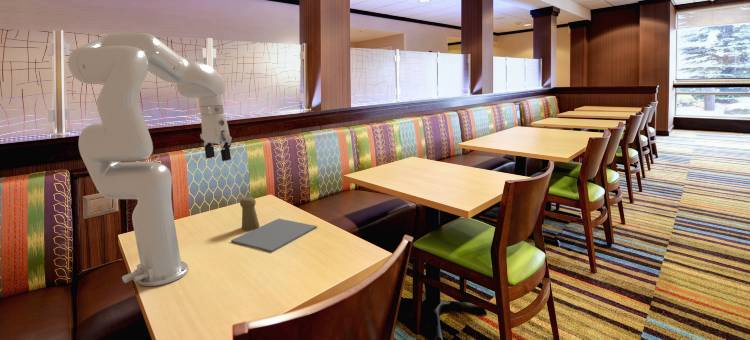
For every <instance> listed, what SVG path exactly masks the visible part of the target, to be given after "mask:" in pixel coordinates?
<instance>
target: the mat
mask: <svg viewBox="0 0 750 340" xmlns="http://www.w3.org/2000/svg"><path fill="white" fill-rule="evenodd" d="M317 228H318V225H314V224H308V223H303V222H299V221H293V220H289V219H284V218H277V219H275V220H272V221H270V222H268V223H266V224H264V225H261V226H259V228H257V229H255V230H251V231H247V232H246V233H244V234H242V235H239V236H237V237H235V238H233V239H231V240H230V242H231V243H234V244H238V245H240V246H241V245H242V246H244V247H245V246H246V247H249V248H254V249H257V250H261V251H265V252H269V253H274V252H275V251H277V250H279V249H281V248H283V247H285V246H286V245H288V244H291V243H292V242H293V241H295V240H297V239H299V238H301V237H303V236H305V235H306V234H308V233H310V232H312V231H314V230H316V229H317Z"/></svg>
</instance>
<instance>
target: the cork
mask: <svg viewBox="0 0 750 340" xmlns="http://www.w3.org/2000/svg"><path fill="white" fill-rule="evenodd" d="M239 201H240V202H239V204H240V207H241V229H242V231H247V232H250V231H252V230H255V229H257V228H259V227H260V222H259V219H258V215H257V212H256V208H255V207H256V203H257V202H256V199H255V198H254V197H252V196H246V197H243V198H241V199H240V200H239Z"/></svg>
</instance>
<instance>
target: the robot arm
mask: <svg viewBox="0 0 750 340" xmlns="http://www.w3.org/2000/svg"><path fill="white" fill-rule="evenodd" d="M67 62H68V69H69V71H70V73H71V74H72V76H73V77H74V78H75V79H76V80H78V81H79V82H80V83H82V84H83V83H84V84H87V85H103V86H102V88H101V90H100V92H99V94H98V97H97V102H96V109H97V112H98V115H99V118H100V120H101V123H93V124H90V125H88V126H86V127H84V128H83V129H82V131H81V132H80V133H79V136H78V150H79V154H80V157H81V158H82V161H83V163H84V165H85V167H86V169H87V172H88V174H89V176H90V178H91V180H92V182H93V184H94V186H95V188H96V190H97V191H98V192H99V194H100V195H101V196H103V197H104V198H106V199H111V200H137V204H136V205H135V207H134V209H133V211H132V215H131V220H132V226H133V231H134V236H135V241H136V247H137V252H138V253H137V254H138V257H139V263H138V264H137V265H136V269H134V271H132V272H131V273H130V272H128V273H127V274H125V275H123V276H121V279H122V282H123V283H124V284H126V283H129V282H131V281H133V282H134V283H137V284H138V285H141V286H144V287H154V286H155V287H156V286H161V285H165V284H170V283H171V282H172V283H173V282H175V281H177V280H179V279H181V278H182V277H184V276H185V275H186V274H187V273H188V271H189V264H188V263H186V262H185V261H182V260H181V254H180V248H179V241H178V235H177V229H176V224H175V223H176V222H175V218H174V211H173V203H172V187H173V186H172V184H173V183H172V181H173V179H172V173H171V170H170V169H169V167H167V166H166V165H165V164H162V163H160V162H155V161H142V160H145V159H148V158H149V157H150V156H151V155H152V154H153V151H154V146H153V144H154V143H153V140H152V137H151V135H150V132H149V129H148V126H147V124H146V123H147V122H146V120H145V118H144V116H143V113H142V109H141V106H140V99H139V98H140V92H141V88H142V85H143V83H144V81H145V78H146V77H147V74H148V72H149V73H150V74H152V75H154V76H156V77H158V78H159V79H160V80H161V81H162V80H163V81H165V82H167V83H173V84H176V89H177V91H178V93H179V94H180V95H181V96H182V97H185V98H188V99H190V98H191V99H193V98H194V99H197V98H198V105H199V113H200V116H201V118H200V120H201V122H200V123H201V125H200V126H201V133H200V134H199V136H200V139H201V142H202V145H203V148H204V152H205V153H204V154H205V158H206V159H211V158H215V155H216V154H215V148H214V146H213V145H219V147H220V148H221V149H220V155H221V156H220V157H221V162H226V161H231V159H232V156H231V150H230V149H231V146H232V140H233V139H232V136H231V135H230V129H229V125H228V120H227V118H226V115H225V112H224V111H225V110H224V104H223V97H222V95H223V94H224V92H225V87H226V84H225V80H224V79H223V77H222V76H221V74H220V73H219V72H218V71H217V70H216V69H215V68H213V67H212V66H211V65H209V64H207V63H204V62H200V61H198V60H194V59H191V58H189V57H185V56H184V55H183V56H182V55H180V54H178V53H177V52H175V51H174V50H173V49H171V48H170V47H169V46H168V45H166V44H165V43H164V42H162V41H161V40H160V39H159V38H157V37H156V36H155V35H153V34H151V33H148V32H121V33H119V32H118V33H111V34H107V35H104V36H101V37H99V38H97V39H95V40H92V41H90V42H87V43H85V44H83V45H80V46H79V47H76V48H75V49H74V50H73V51H71V53H70V55H69V57H68V60H67Z"/></svg>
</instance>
